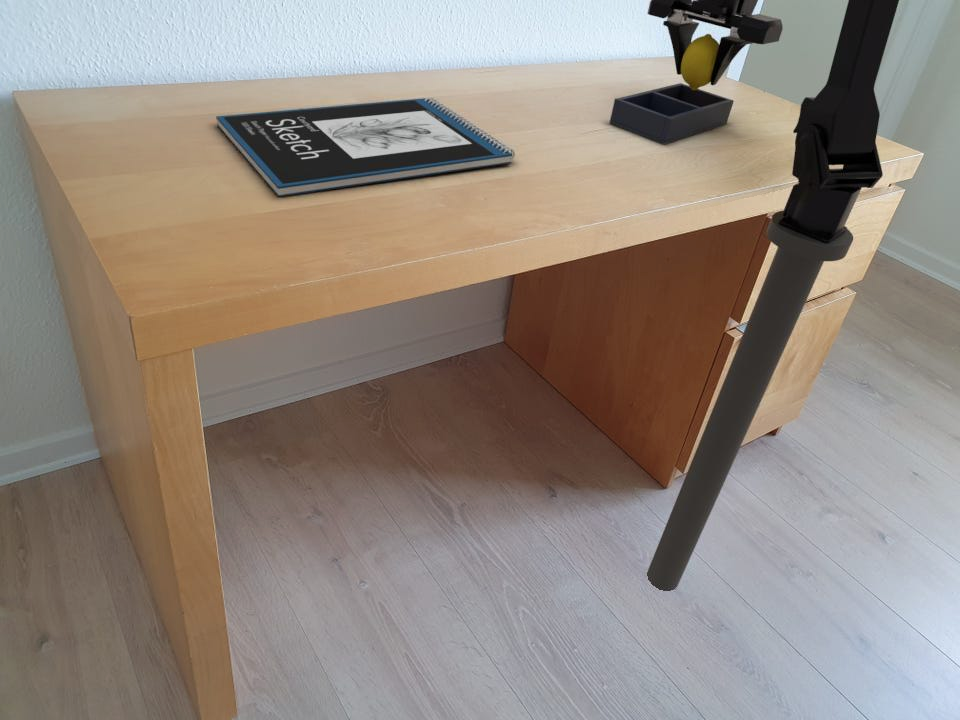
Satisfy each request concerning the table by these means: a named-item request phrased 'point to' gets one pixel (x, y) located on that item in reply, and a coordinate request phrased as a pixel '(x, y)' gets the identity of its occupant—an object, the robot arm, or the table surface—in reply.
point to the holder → (670, 112)
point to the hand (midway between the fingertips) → (696, 79)
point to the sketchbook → (359, 144)
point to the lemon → (699, 61)
